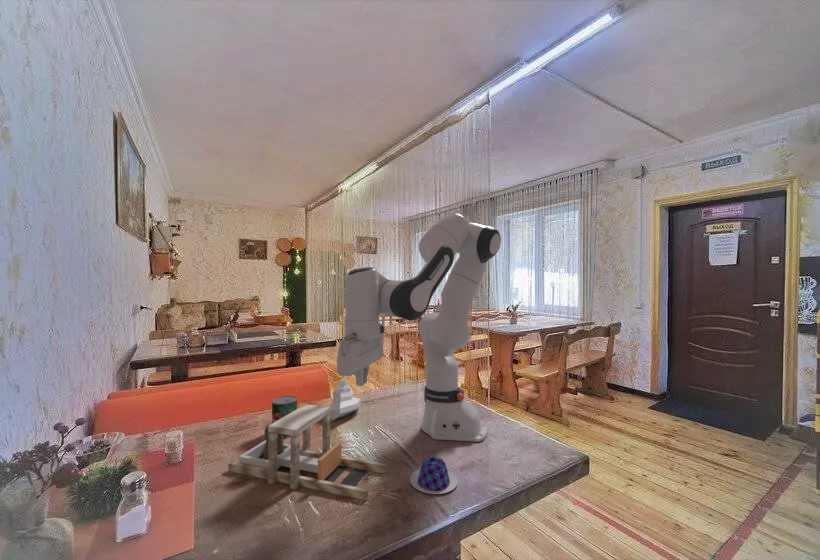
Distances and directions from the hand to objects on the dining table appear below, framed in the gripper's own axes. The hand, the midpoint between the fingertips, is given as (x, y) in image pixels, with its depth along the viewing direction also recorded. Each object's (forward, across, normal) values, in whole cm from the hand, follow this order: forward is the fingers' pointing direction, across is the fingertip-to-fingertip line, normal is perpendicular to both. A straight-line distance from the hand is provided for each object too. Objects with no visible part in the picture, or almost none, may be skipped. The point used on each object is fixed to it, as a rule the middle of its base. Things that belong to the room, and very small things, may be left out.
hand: (361, 384), depth 90 cm
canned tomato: (+24, +16, +36) cm, 46 cm away
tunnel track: (+24, -2, +15) cm, 28 cm away
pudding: (+25, +4, -18) cm, 31 cm away
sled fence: (+24, -2, +20) cm, 31 cm away
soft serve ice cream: (+24, +36, +25) cm, 50 cm away
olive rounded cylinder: (+24, -1, +26) cm, 35 cm away
